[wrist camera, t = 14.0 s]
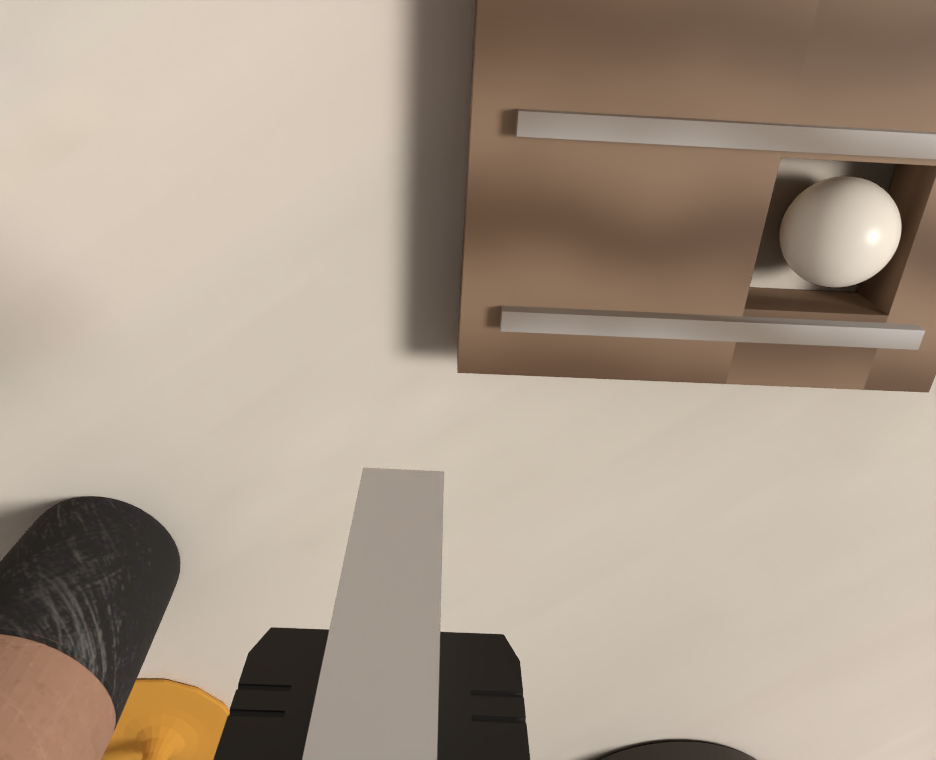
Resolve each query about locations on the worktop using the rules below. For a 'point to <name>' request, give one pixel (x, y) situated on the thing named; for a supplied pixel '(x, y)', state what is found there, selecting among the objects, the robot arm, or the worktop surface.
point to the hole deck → (690, 189)
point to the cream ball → (840, 231)
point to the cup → (167, 723)
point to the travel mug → (78, 625)
